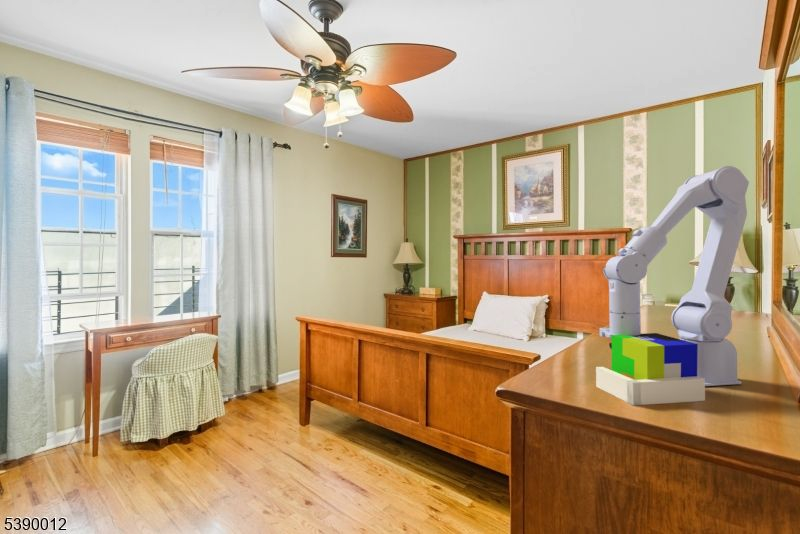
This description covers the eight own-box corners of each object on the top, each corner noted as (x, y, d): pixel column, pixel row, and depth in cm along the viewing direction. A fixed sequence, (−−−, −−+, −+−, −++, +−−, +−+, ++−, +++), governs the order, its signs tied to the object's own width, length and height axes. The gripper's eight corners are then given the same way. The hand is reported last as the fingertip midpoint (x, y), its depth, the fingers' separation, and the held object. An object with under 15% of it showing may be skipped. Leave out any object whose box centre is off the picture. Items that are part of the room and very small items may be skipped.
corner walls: (659, 382, 82) (659, 363, 82) (705, 400, 71) (704, 378, 71) (596, 386, 80) (595, 367, 80) (633, 405, 70) (632, 382, 70)
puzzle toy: (696, 397, 73) (697, 344, 72) (647, 400, 72) (647, 346, 71) (655, 380, 83) (656, 333, 82) (611, 382, 82) (611, 335, 81)
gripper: (586, 309, 90) (587, 368, 90) (630, 317, 75) (631, 388, 76) (615, 308, 91) (616, 366, 91) (664, 316, 76) (665, 386, 76)
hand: (625, 376), depth 83 cm, fingers closed
